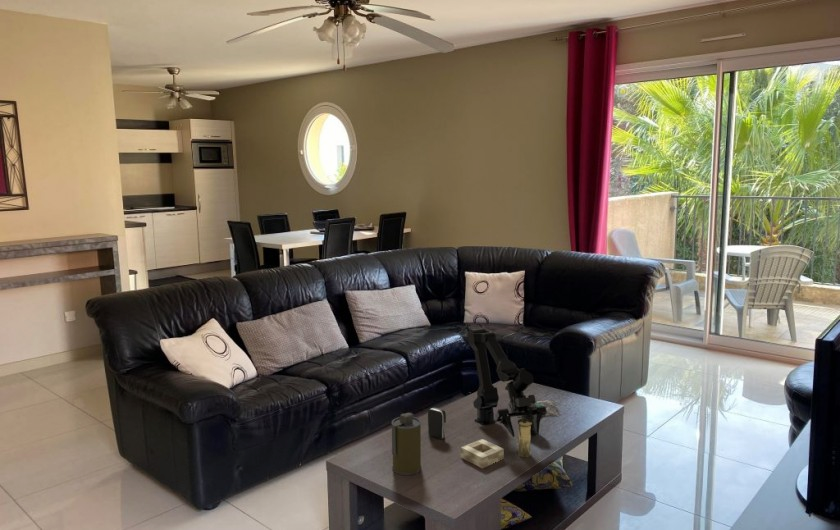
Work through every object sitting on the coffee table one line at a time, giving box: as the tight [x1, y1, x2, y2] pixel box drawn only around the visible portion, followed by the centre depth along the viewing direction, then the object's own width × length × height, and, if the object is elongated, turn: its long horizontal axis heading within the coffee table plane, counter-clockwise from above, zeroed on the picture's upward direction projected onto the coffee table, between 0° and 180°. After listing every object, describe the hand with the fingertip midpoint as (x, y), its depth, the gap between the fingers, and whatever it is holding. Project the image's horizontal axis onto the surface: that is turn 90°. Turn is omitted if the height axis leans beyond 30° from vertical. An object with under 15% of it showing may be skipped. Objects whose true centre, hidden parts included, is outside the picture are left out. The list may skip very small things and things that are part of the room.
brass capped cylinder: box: [517, 418, 532, 458], centre depth 227 cm, size 5×5×13 cm
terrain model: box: [507, 400, 561, 418], centre depth 270 cm, size 20×15×3 cm
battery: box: [427, 407, 447, 440], centre depth 243 cm, size 7×4×11 cm, turn 53°
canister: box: [391, 412, 422, 476], centre depth 216 cm, size 11×10×20 cm
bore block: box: [460, 438, 505, 469], centre depth 225 cm, size 11×11×4 cm
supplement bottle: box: [520, 404, 538, 437], centre depth 245 cm, size 7×7×12 cm
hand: (525, 435), depth 225 cm, fingers open, 9 cm apart
